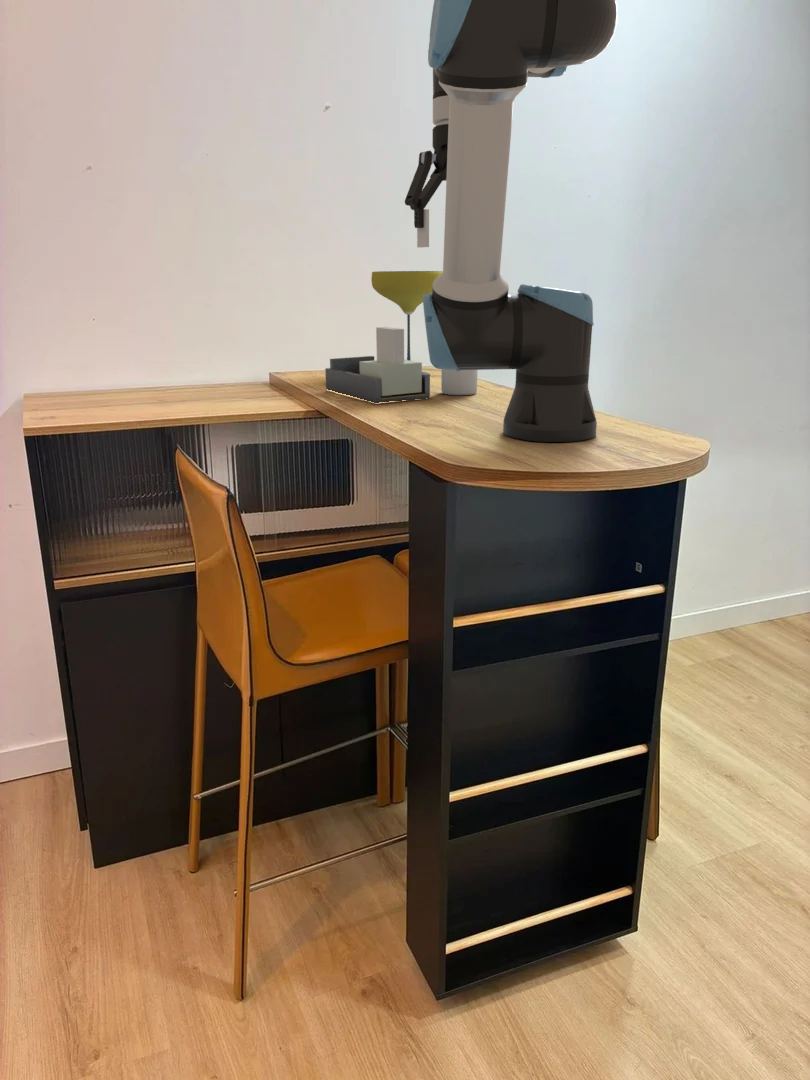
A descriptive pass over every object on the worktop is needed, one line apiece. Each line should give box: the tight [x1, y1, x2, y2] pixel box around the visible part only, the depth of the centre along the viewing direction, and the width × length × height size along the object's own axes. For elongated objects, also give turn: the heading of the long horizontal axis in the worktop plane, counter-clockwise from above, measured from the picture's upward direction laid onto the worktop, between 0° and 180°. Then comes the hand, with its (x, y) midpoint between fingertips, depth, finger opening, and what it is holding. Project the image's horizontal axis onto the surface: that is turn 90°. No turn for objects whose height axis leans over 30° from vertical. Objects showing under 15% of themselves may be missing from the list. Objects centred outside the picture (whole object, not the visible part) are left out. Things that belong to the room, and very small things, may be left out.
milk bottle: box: [440, 369, 478, 396], centre depth 175 cm, size 8×8×20 cm
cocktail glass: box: [370, 270, 443, 376], centre depth 204 cm, size 18×18×25 cm
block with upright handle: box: [359, 326, 423, 396], centre depth 169 cm, size 9×10×13 cm
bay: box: [324, 355, 431, 403], centre depth 176 cm, size 22×13×7 cm, turn 32°
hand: (451, 248), depth 157 cm, fingers open, 13 cm apart
